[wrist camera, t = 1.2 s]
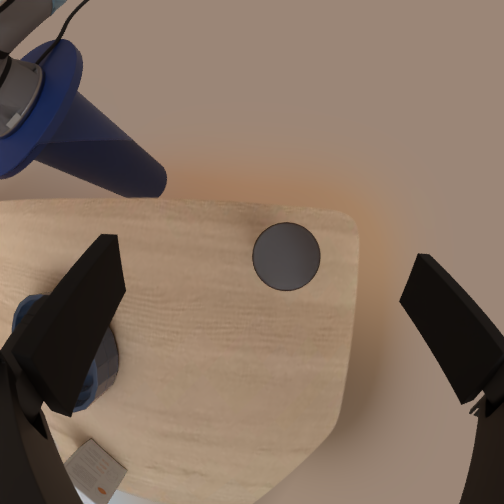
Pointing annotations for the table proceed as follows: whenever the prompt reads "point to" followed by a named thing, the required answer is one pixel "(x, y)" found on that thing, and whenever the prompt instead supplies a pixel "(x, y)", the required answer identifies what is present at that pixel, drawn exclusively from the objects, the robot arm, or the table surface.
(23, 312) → the bowl
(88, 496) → the small box
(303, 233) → the stick
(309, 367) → the table surface
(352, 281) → the table surface
